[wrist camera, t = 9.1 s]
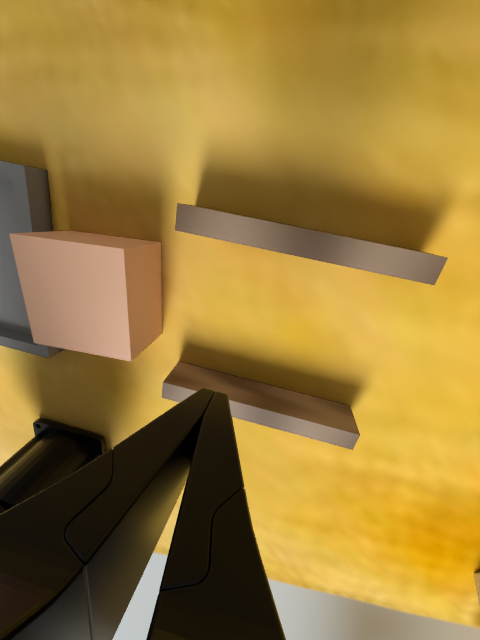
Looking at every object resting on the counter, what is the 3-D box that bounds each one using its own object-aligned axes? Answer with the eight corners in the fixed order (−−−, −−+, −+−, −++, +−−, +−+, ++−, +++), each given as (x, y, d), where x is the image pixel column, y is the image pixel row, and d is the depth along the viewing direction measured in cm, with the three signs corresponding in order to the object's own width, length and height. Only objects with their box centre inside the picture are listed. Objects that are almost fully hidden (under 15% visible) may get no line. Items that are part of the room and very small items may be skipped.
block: (84, 318, 18) (34, 342, 15) (72, 230, 16) (9, 233, 12) (163, 332, 18) (131, 361, 14) (162, 242, 15) (123, 248, 12)
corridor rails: (177, 375, 19) (161, 397, 16) (195, 205, 14) (177, 203, 12) (344, 419, 18) (352, 449, 15) (419, 251, 13) (447, 257, 11)
